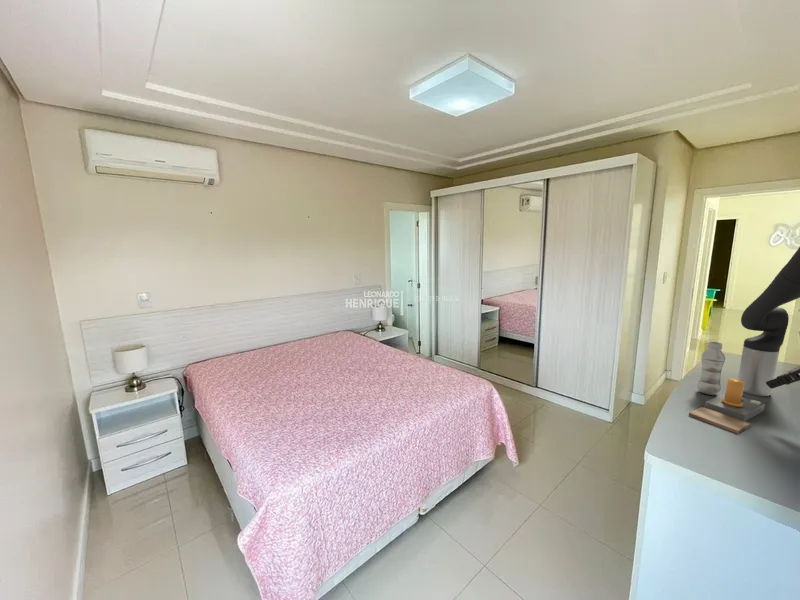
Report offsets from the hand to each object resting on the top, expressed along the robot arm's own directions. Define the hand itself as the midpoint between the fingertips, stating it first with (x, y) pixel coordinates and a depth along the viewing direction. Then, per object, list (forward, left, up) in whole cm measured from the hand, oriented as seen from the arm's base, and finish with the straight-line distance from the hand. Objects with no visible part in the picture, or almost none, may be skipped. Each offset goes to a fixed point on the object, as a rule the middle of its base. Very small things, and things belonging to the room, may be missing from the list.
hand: (773, 382), depth 102 cm
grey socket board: (-2, -8, -13) cm, 16 cm away
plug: (0, -8, -13) cm, 16 cm away
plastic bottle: (-10, -18, -14) cm, 25 cm away
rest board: (+12, -7, -13) cm, 19 cm away
